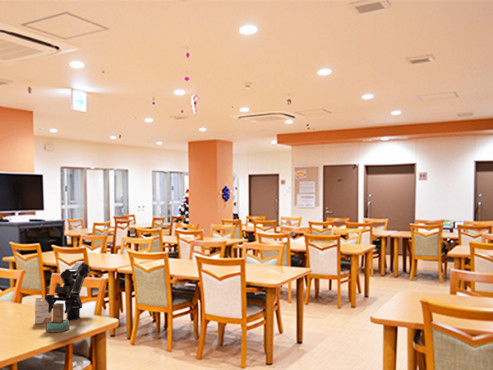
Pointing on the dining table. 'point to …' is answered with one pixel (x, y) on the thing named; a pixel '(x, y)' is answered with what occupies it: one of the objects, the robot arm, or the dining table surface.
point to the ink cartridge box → (42, 311)
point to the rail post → (58, 312)
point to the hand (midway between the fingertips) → (56, 312)
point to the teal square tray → (57, 327)
